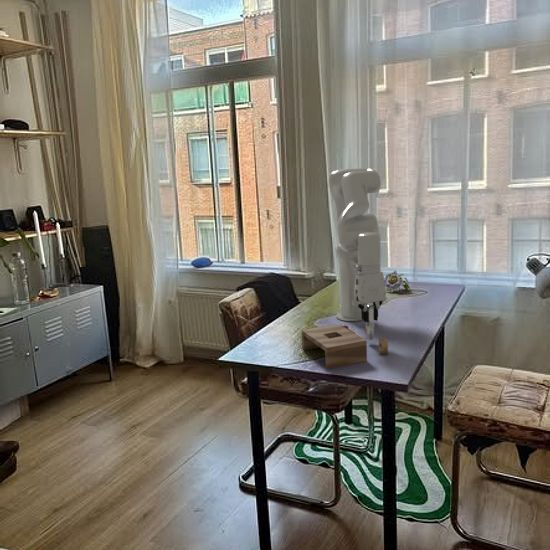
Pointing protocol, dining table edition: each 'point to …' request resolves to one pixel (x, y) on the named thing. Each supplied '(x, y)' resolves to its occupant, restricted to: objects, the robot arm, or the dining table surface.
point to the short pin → (383, 346)
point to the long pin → (370, 322)
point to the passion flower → (395, 281)
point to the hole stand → (336, 345)
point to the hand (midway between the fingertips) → (369, 319)
